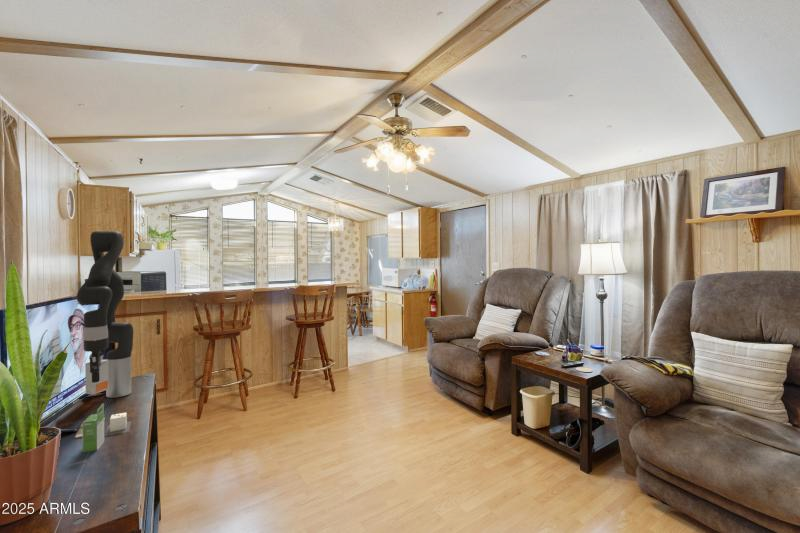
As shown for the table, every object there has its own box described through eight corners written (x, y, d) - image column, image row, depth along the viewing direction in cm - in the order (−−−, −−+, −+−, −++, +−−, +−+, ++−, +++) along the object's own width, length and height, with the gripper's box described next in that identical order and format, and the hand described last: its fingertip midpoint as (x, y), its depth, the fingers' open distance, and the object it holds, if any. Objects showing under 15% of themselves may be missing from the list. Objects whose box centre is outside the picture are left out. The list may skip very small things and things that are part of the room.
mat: (108, 426, 137) (108, 425, 137) (131, 422, 141) (131, 421, 141) (104, 437, 129) (104, 436, 129) (129, 432, 133) (129, 431, 133)
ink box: (90, 443, 124) (90, 404, 124) (104, 441, 126) (104, 402, 126) (82, 453, 118) (81, 411, 118) (97, 451, 120) (97, 409, 119)
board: (82, 423, 140) (82, 421, 140) (105, 419, 143) (105, 417, 143) (74, 439, 127) (74, 437, 127) (100, 434, 131) (100, 432, 131)
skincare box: (94, 394, 142) (93, 364, 141) (85, 393, 143) (84, 363, 142) (109, 389, 148) (108, 359, 147) (100, 388, 149) (100, 358, 148)
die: (111, 426, 136) (111, 414, 136) (126, 424, 139) (126, 412, 139) (110, 431, 132) (110, 419, 132) (125, 428, 135) (125, 416, 135)
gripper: (86, 335, 148) (87, 375, 149) (80, 342, 136) (81, 386, 137) (110, 332, 152) (111, 372, 153) (106, 339, 140) (107, 382, 141)
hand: (97, 379), depth 145 cm, fingers closed on skincare box, 7 cm apart
